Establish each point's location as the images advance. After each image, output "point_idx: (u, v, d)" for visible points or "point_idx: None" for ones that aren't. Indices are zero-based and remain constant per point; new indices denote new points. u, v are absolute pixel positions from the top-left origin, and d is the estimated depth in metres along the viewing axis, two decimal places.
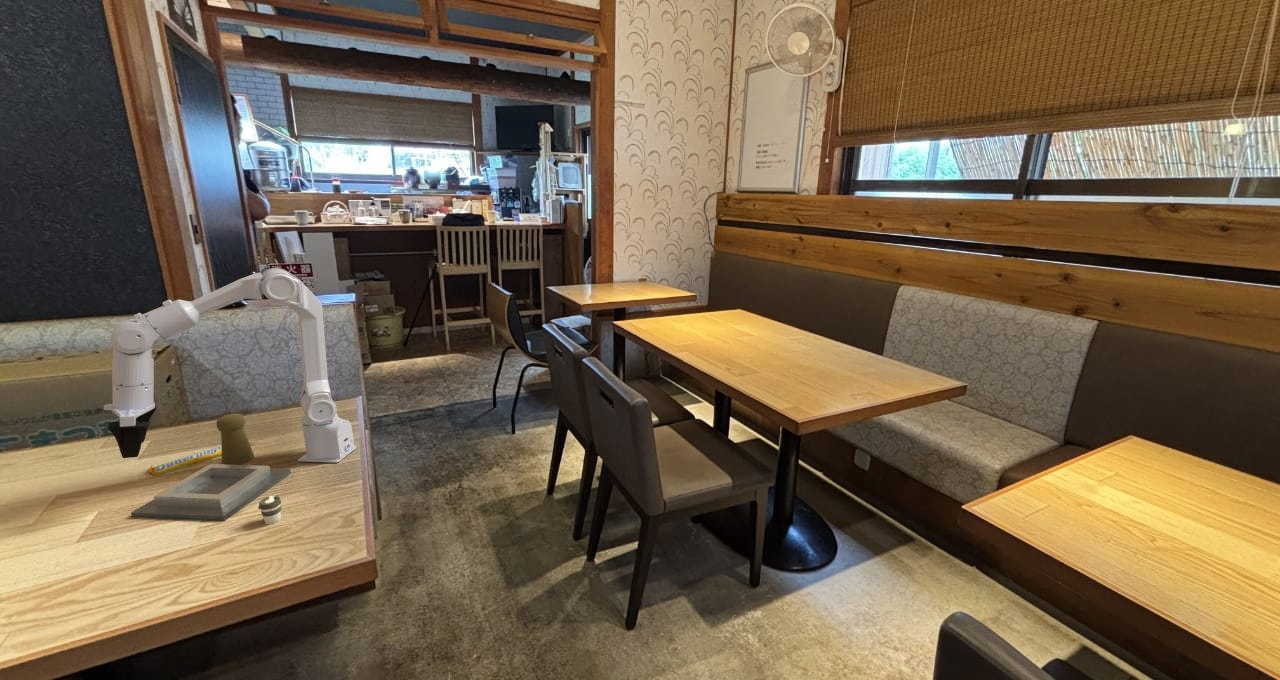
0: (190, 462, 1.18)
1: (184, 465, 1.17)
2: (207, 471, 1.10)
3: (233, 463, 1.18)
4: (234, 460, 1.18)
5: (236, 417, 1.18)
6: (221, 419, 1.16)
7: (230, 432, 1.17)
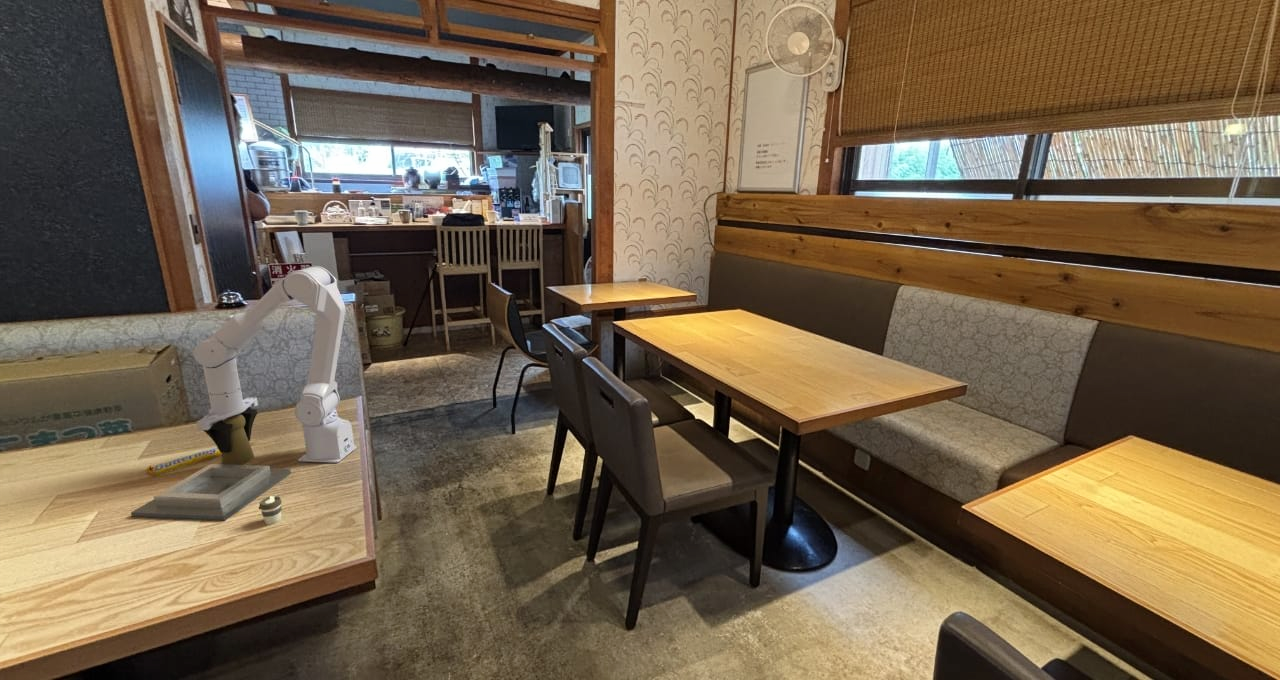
0: (188, 462, 1.18)
1: (182, 465, 1.17)
2: (207, 471, 1.10)
3: (233, 463, 1.18)
4: (234, 460, 1.18)
5: (236, 417, 1.18)
6: None
7: None
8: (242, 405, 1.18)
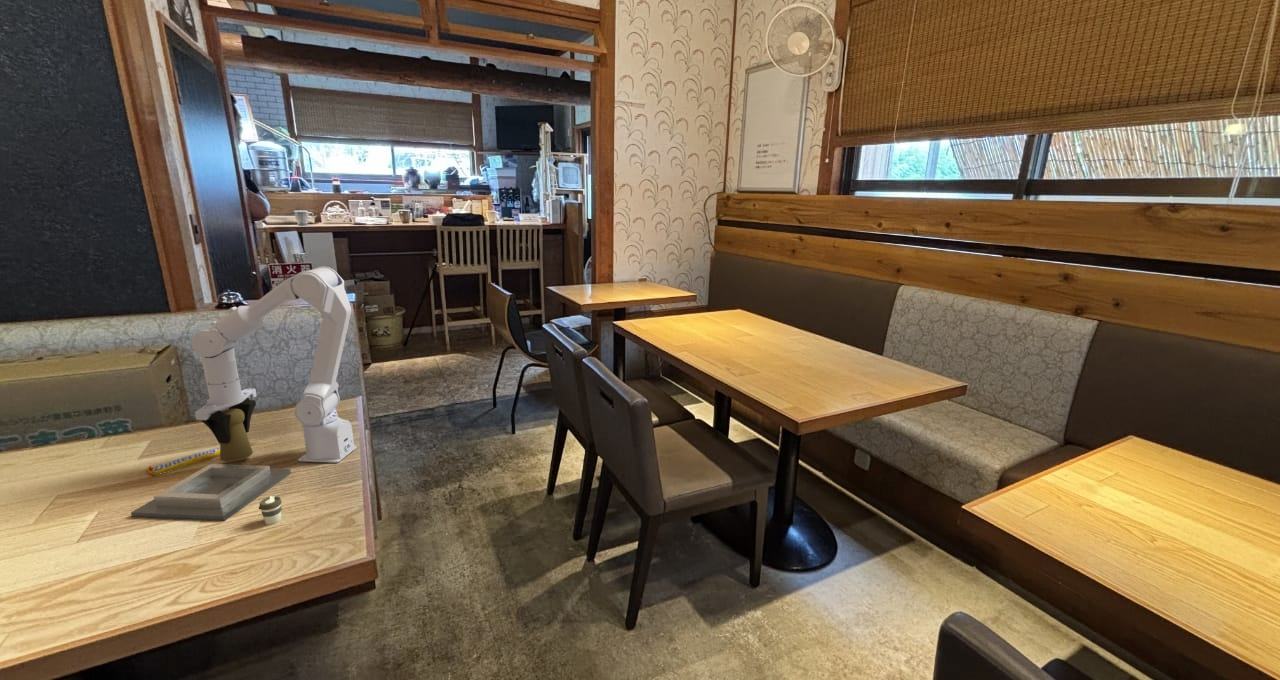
0: (188, 462, 1.18)
1: (182, 465, 1.17)
2: (207, 471, 1.10)
3: (231, 458, 1.17)
4: (232, 455, 1.17)
5: (235, 412, 1.17)
6: None
7: (229, 427, 1.17)
8: (240, 395, 1.18)
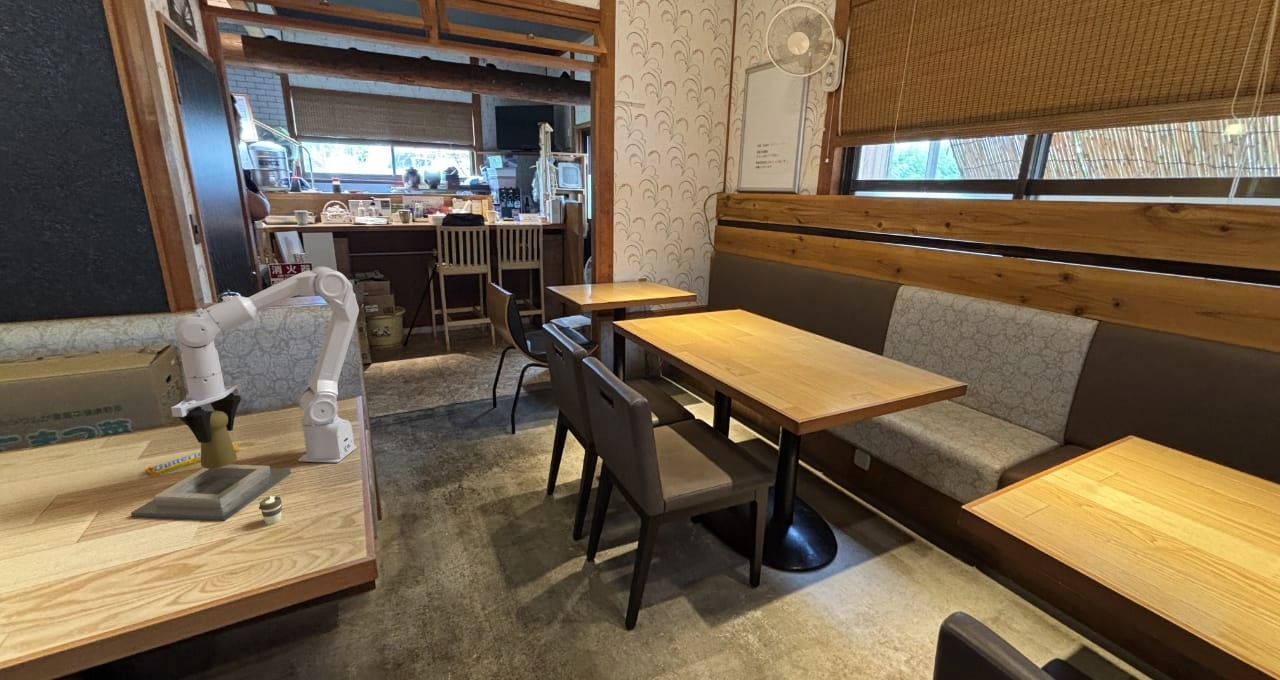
0: (187, 462, 1.18)
1: (182, 465, 1.17)
2: (207, 471, 1.10)
3: (211, 465, 1.08)
4: (212, 462, 1.08)
5: (217, 415, 1.07)
6: None
7: (210, 431, 1.07)
8: (223, 390, 1.07)
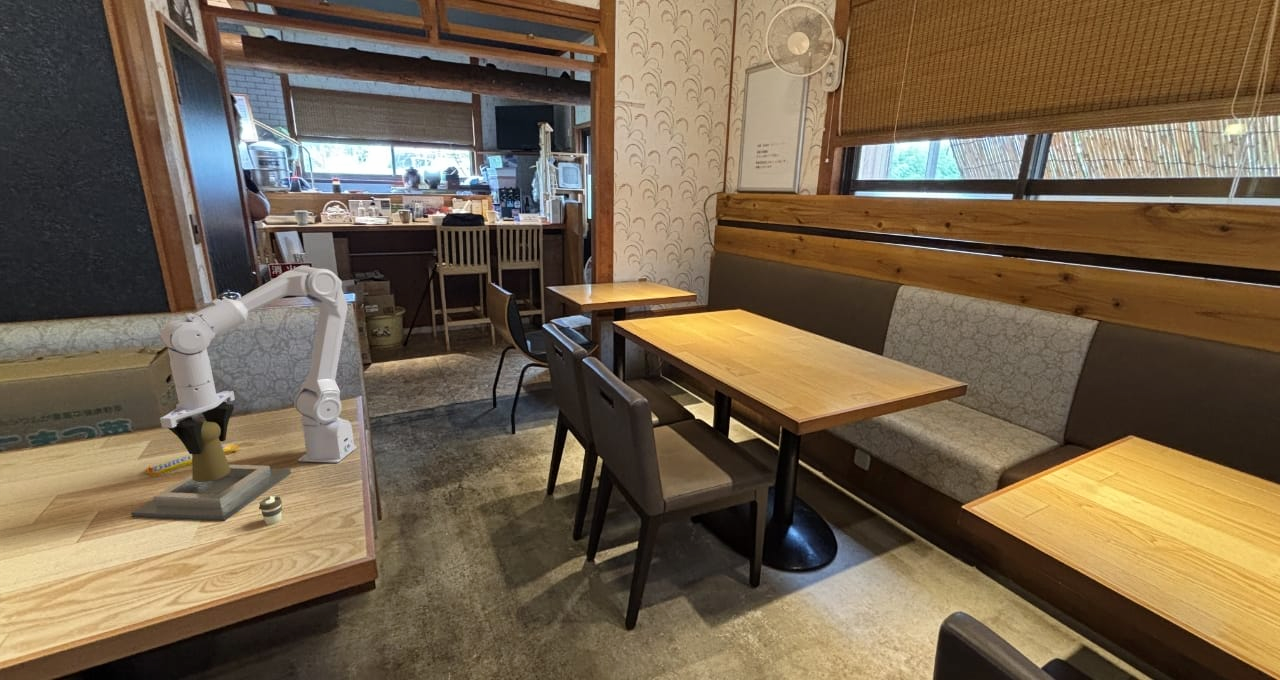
0: (187, 462, 1.18)
1: (182, 466, 1.17)
2: None
3: (203, 479, 1.03)
4: (204, 476, 1.03)
5: (209, 427, 1.03)
6: None
7: None
8: (215, 399, 1.03)
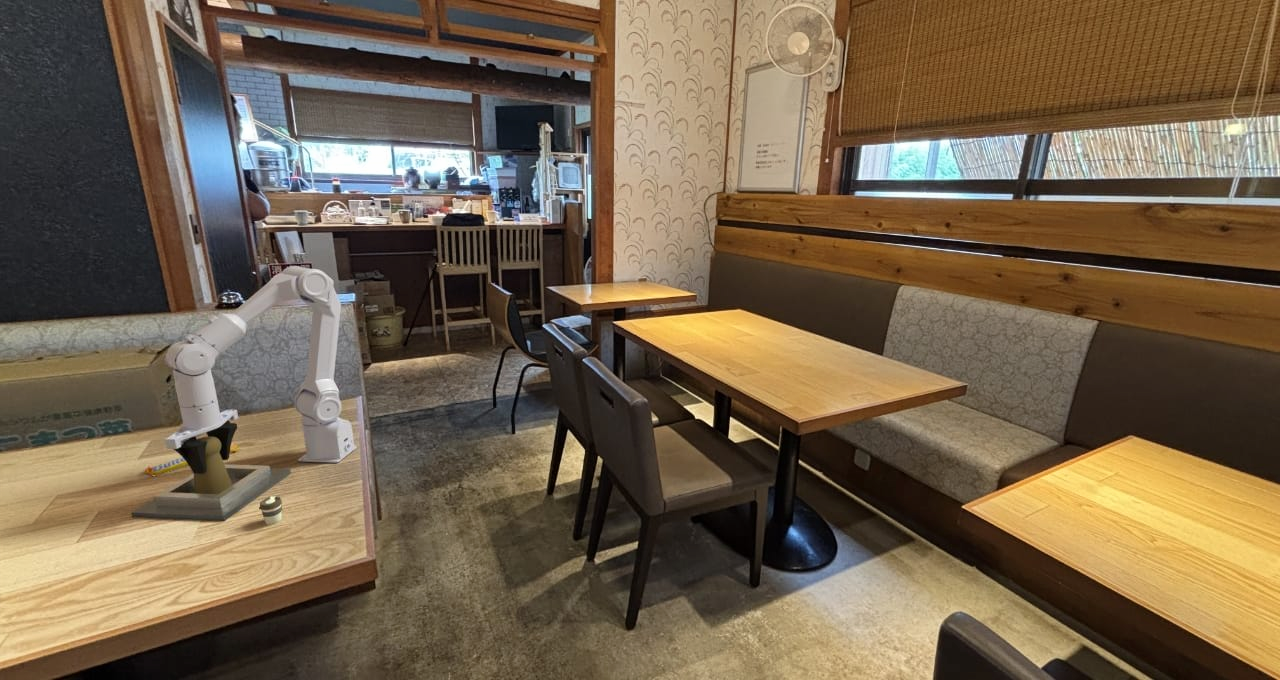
0: None
1: (181, 466, 1.17)
2: None
3: (205, 493, 1.04)
4: (206, 490, 1.04)
5: (209, 441, 1.03)
6: None
7: None
8: (219, 419, 1.04)
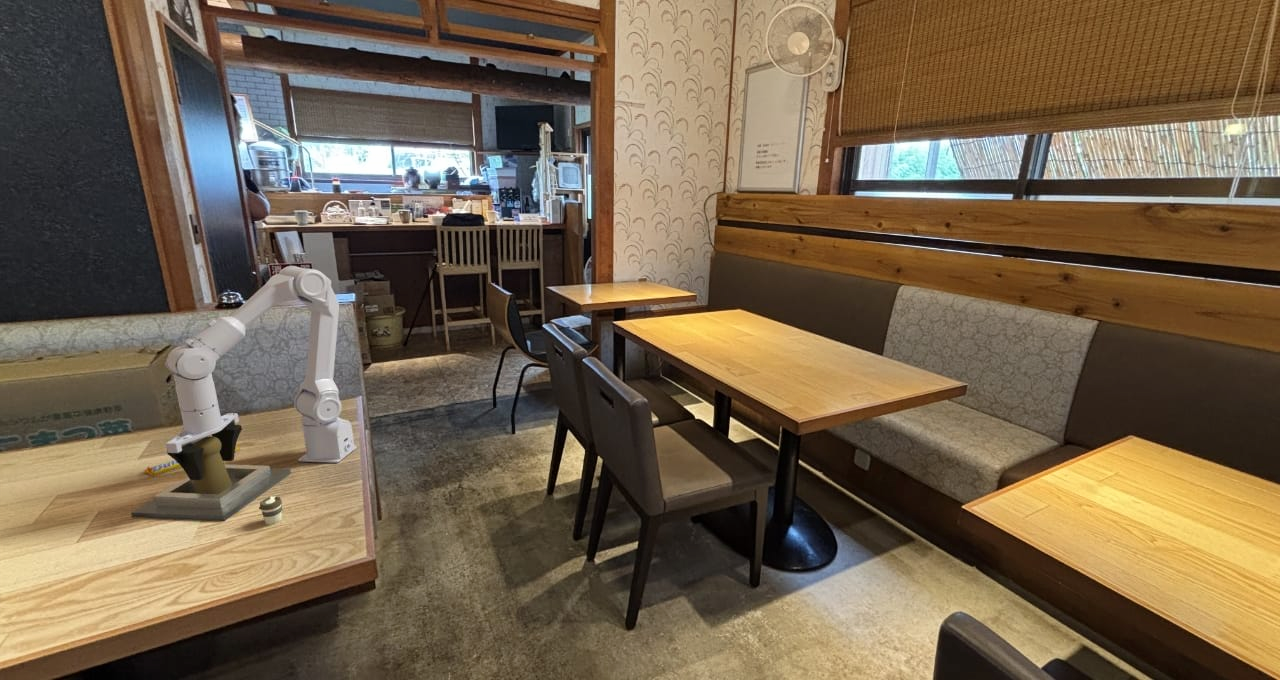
0: None
1: None
2: None
3: (205, 493, 1.04)
4: (206, 490, 1.04)
5: (209, 441, 1.03)
6: None
7: (202, 458, 1.03)
8: (220, 423, 1.04)
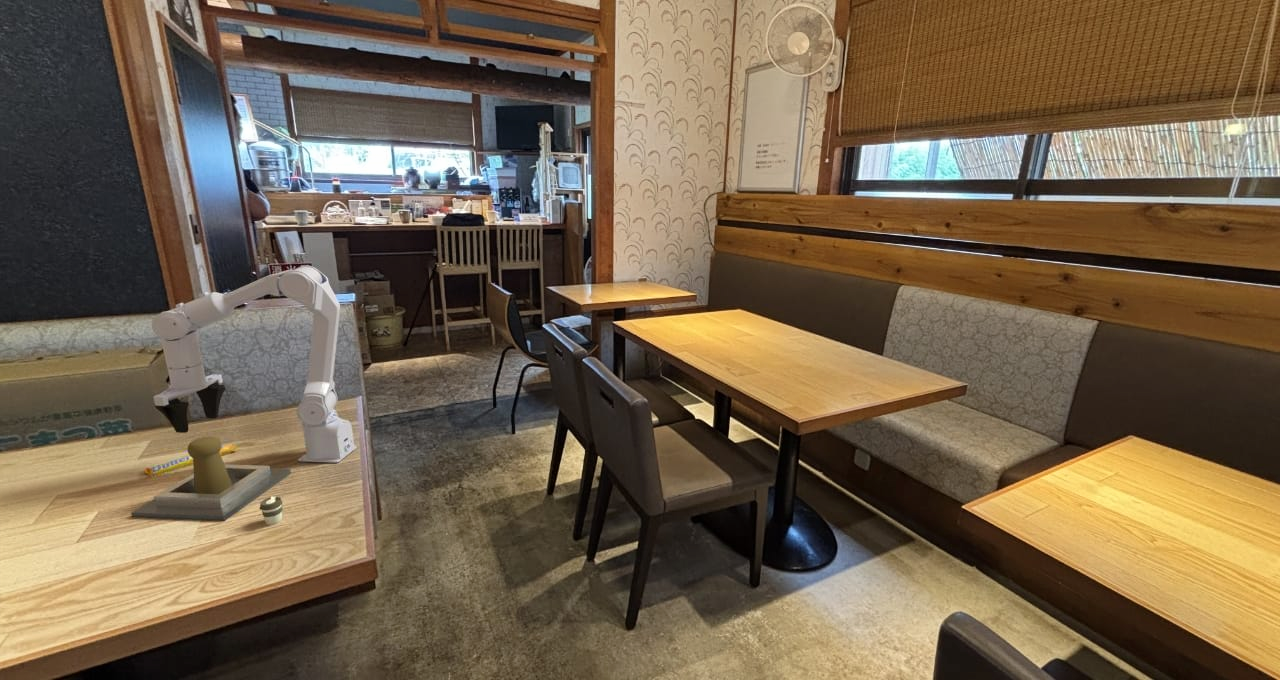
0: (186, 463, 1.17)
1: (180, 466, 1.17)
2: None
3: (205, 493, 1.04)
4: (206, 490, 1.04)
5: (209, 441, 1.03)
6: (192, 443, 1.02)
7: (202, 458, 1.03)
8: (204, 381, 1.13)
